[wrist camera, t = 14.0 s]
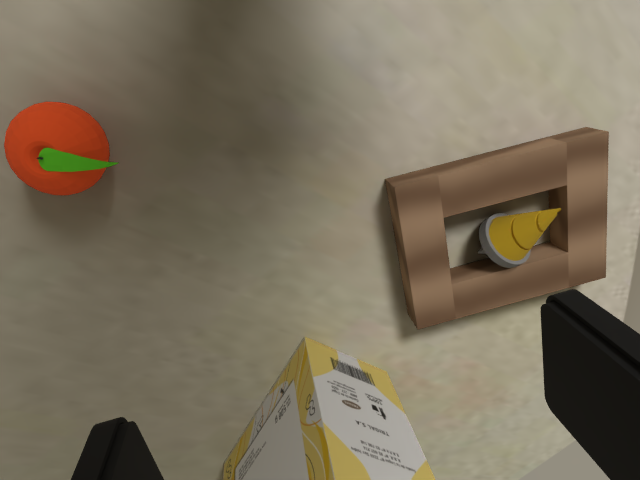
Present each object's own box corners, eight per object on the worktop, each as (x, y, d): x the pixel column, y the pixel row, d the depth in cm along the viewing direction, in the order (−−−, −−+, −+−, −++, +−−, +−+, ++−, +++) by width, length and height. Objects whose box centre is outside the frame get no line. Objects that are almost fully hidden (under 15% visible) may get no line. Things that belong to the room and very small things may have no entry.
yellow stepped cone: (451, 236, 48) (525, 187, 39) (486, 224, 50) (562, 176, 42) (477, 284, 46) (558, 244, 38) (511, 269, 49) (594, 229, 41)
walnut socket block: (384, 178, 44) (394, 187, 41) (586, 127, 45) (608, 131, 42) (408, 314, 50) (417, 329, 47) (585, 265, 51) (605, 277, 48)
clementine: (135, 109, 39) (113, 120, 32) (129, 190, 41) (107, 216, 34) (28, 89, 37) (-19, 97, 30) (28, 175, 39) (-16, 199, 33)
